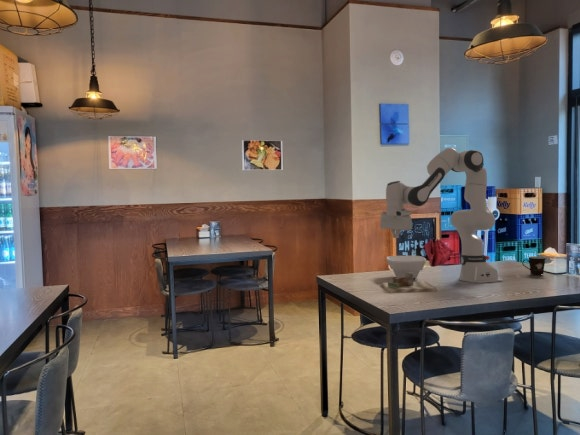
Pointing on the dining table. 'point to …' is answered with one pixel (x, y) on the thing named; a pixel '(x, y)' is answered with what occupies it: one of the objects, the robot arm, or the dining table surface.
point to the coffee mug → (536, 265)
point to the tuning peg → (404, 279)
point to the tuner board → (408, 287)
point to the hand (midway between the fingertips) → (395, 237)
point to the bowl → (406, 265)
